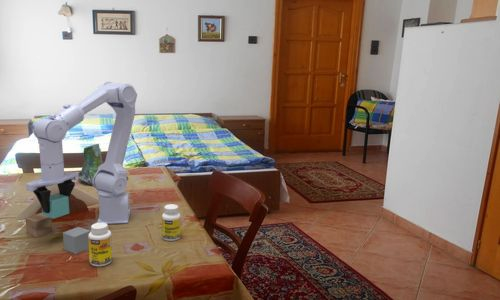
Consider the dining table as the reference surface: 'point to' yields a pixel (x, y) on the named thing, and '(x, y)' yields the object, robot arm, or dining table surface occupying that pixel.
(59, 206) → the teal block
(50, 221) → the tan cube
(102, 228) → the supplement bottle
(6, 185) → the dining table surface
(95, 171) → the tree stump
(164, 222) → the supplement bottle
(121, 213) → the robot arm
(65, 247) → the slate block
